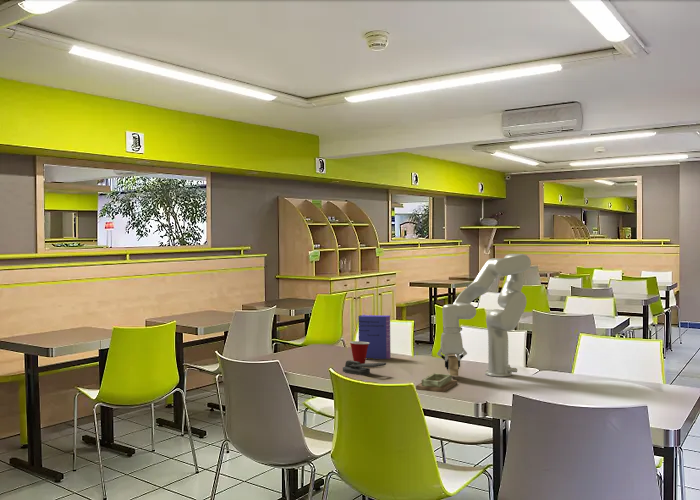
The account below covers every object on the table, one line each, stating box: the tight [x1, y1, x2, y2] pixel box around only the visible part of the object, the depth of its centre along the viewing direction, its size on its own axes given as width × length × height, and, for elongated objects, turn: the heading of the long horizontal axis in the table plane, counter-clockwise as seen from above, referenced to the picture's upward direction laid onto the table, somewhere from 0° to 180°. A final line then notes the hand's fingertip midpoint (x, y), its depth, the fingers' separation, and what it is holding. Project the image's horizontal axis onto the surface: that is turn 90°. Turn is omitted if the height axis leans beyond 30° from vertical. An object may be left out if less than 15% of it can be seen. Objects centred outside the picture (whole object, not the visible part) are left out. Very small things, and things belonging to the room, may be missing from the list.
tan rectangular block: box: [446, 355, 459, 377], centre depth 299 cm, size 4×12×8 cm, turn 178°
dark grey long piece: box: [342, 359, 387, 376], centre depth 312 cm, size 9×7×25 cm
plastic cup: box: [349, 340, 370, 364], centre depth 338 cm, size 11×11×12 cm
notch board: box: [415, 372, 458, 393], centre depth 283 cm, size 13×18×4 cm
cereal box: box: [358, 314, 392, 360], centre depth 355 cm, size 17×5×24 cm, turn 82°
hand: (452, 368), depth 299 cm, fingers closed on tan rectangular block, 4 cm apart
